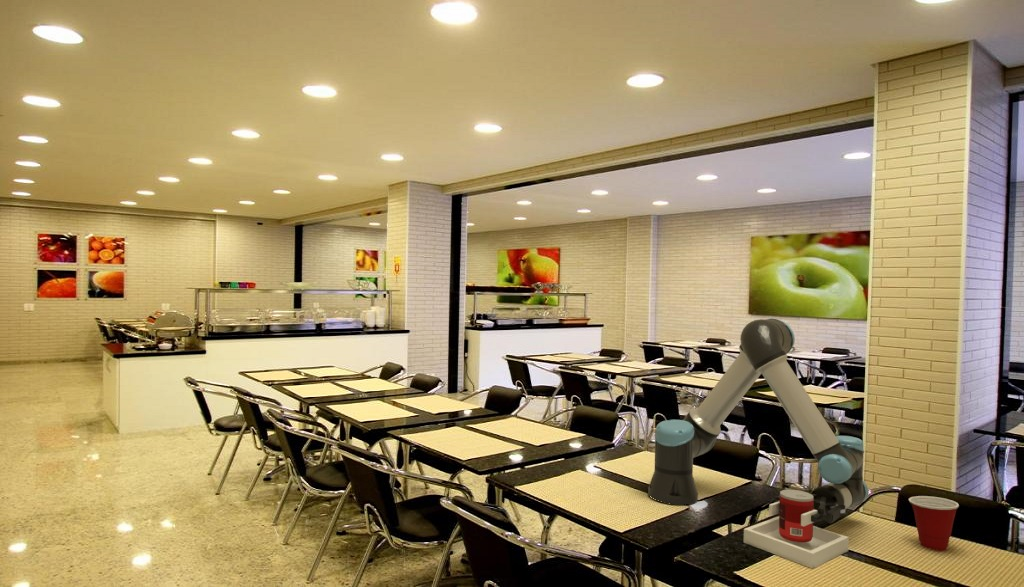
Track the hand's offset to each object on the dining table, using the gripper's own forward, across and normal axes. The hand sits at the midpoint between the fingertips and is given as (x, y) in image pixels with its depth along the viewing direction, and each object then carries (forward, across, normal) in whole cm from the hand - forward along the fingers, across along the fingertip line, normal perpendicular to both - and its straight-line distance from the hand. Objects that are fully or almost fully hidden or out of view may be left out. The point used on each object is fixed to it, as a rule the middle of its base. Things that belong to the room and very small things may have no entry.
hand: (786, 515), depth 153 cm
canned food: (-5, 0, -7) cm, 8 cm away
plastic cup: (-36, -20, -9) cm, 42 cm away
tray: (-5, 0, -9) cm, 10 cm away
